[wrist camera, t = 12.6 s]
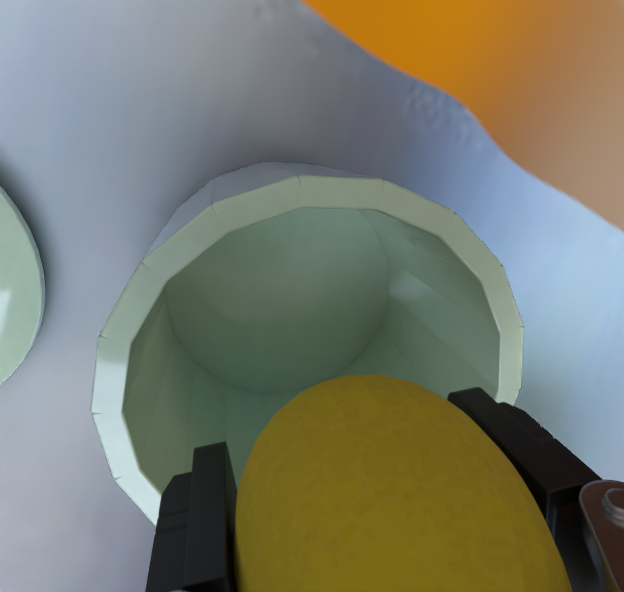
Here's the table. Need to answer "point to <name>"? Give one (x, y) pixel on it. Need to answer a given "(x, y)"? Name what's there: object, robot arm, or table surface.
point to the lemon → (386, 499)
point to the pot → (291, 314)
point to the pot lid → (18, 288)
